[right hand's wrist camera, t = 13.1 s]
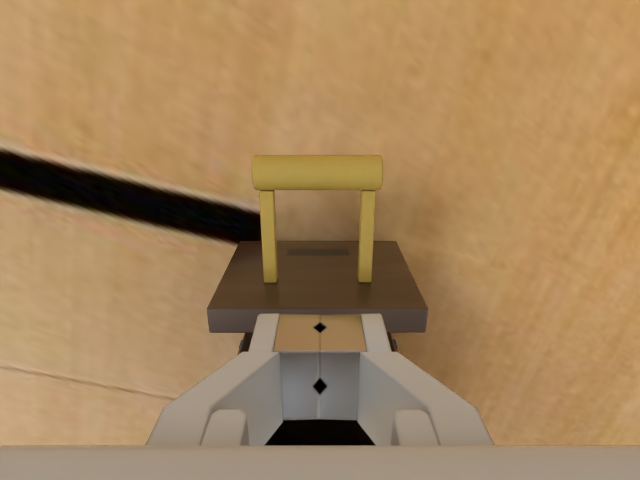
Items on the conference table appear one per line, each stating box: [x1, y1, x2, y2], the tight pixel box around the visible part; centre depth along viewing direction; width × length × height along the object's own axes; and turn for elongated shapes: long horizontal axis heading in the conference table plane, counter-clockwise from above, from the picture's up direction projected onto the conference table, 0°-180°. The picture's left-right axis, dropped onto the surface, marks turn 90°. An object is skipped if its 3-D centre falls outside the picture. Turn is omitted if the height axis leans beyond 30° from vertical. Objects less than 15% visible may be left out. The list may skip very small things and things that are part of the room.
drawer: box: [207, 155, 428, 446], centre depth 23 cm, size 22×9×8 cm, turn 0°
